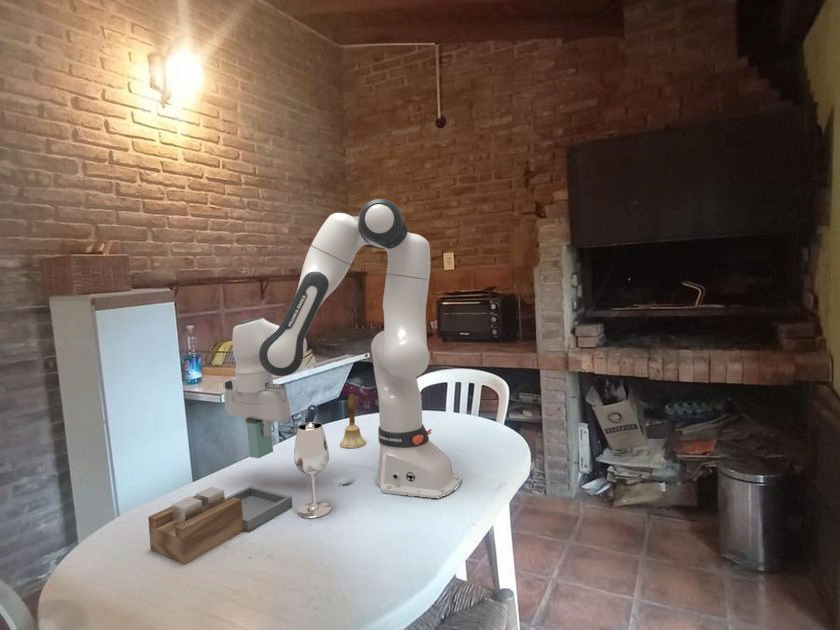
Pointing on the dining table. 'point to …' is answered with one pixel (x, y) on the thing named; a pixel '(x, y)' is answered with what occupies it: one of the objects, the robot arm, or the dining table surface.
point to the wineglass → (311, 463)
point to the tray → (260, 505)
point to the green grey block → (258, 439)
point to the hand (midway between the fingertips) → (259, 434)
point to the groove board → (195, 531)
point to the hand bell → (352, 428)
